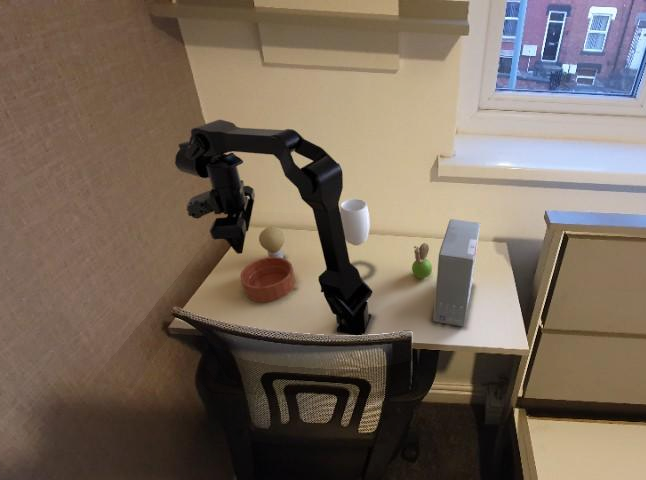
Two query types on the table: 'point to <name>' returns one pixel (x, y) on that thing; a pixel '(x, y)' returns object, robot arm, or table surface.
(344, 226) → the cup
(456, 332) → the table surface
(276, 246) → the light bulb
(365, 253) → the table surface
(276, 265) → the bowl
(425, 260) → the snail figurine
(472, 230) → the hard drive box
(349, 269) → the robot arm
